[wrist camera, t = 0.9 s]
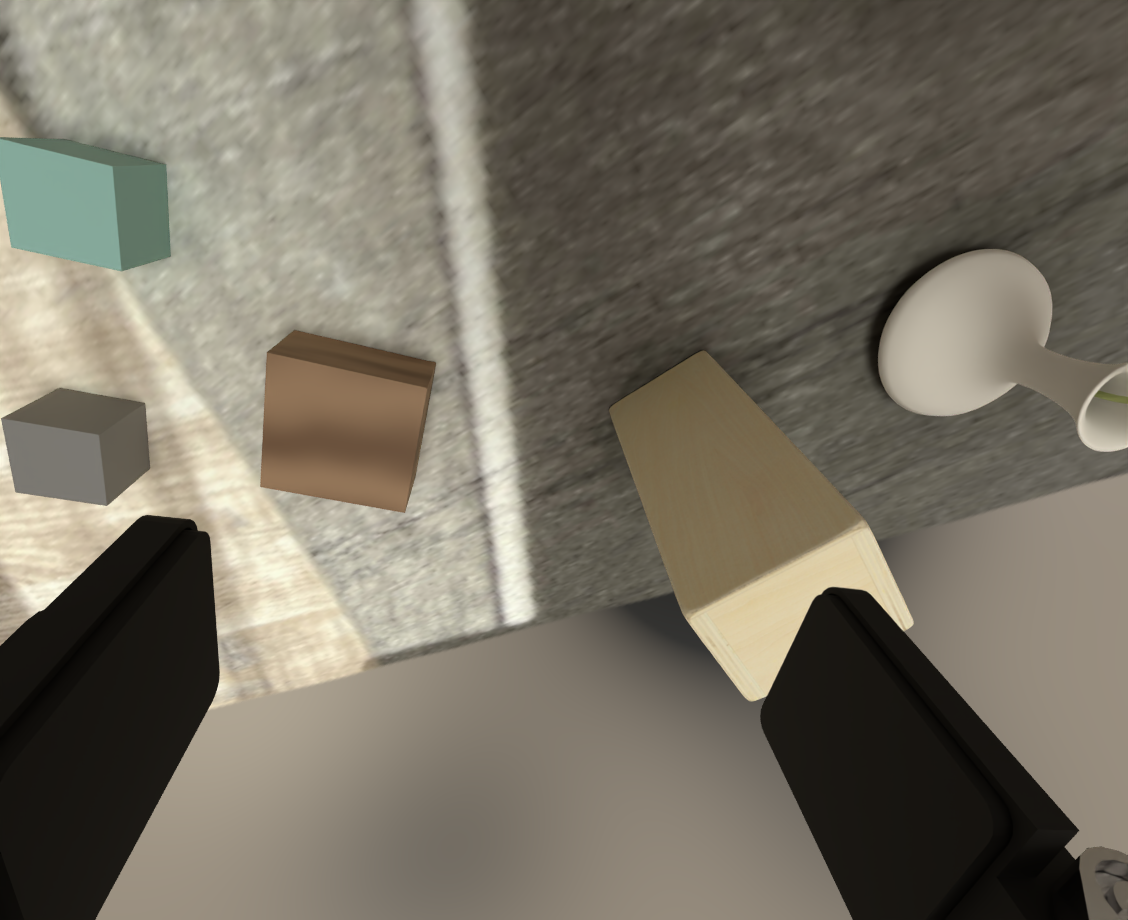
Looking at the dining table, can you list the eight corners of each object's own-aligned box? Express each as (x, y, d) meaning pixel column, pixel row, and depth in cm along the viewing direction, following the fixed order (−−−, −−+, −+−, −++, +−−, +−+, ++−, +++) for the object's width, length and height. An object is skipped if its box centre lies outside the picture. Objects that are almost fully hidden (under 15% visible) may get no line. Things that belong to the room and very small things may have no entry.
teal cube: (66, 139, 31) (-7, 137, 27) (166, 164, 32) (112, 166, 28) (76, 235, 34) (11, 247, 29) (171, 256, 35) (121, 271, 30)
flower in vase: (1032, 365, 42) (1595, 593, 20) (880, 430, 44) (1252, 708, 22) (1019, 187, 37) (1791, 238, 15) (844, 270, 38) (1304, 429, 16)
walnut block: (295, 329, 37) (266, 352, 33) (436, 361, 39) (427, 388, 35) (287, 451, 41) (260, 486, 37) (415, 475, 43) (404, 512, 38)
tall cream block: (653, 482, 44) (756, 715, 26) (604, 409, 41) (681, 616, 23) (746, 427, 43) (926, 634, 24) (703, 347, 40) (872, 515, 21)
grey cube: (60, 387, 38) (1, 418, 33) (146, 402, 38) (98, 434, 34) (70, 454, 40) (15, 492, 35) (150, 467, 41) (106, 505, 36)
